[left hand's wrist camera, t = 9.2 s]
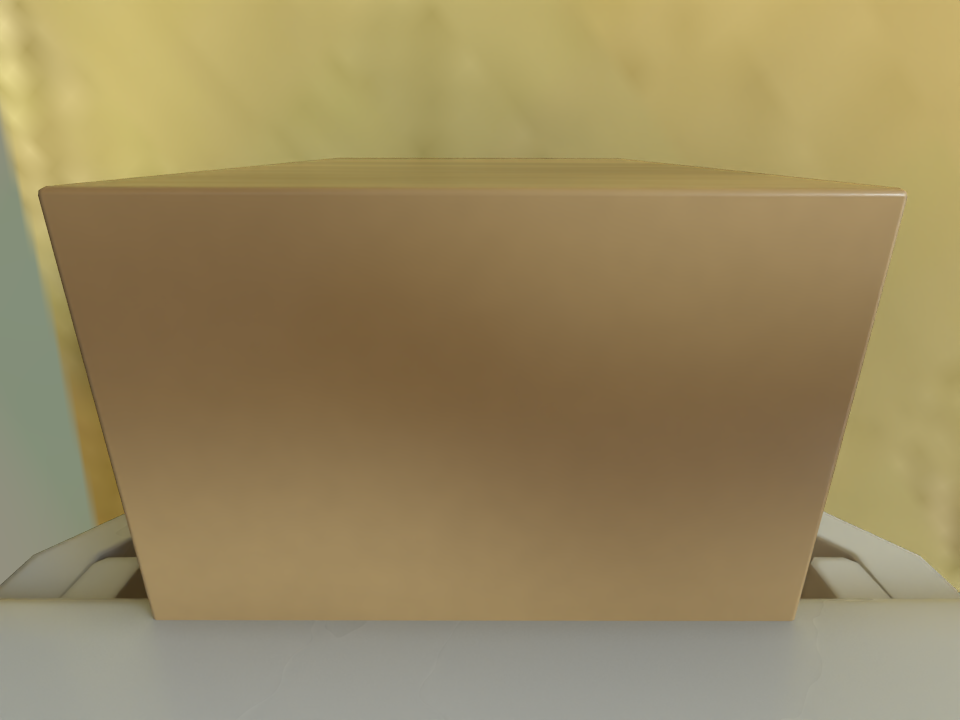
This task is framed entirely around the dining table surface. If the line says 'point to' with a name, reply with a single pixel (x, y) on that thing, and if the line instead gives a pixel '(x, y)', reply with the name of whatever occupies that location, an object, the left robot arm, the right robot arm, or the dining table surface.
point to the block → (473, 382)
